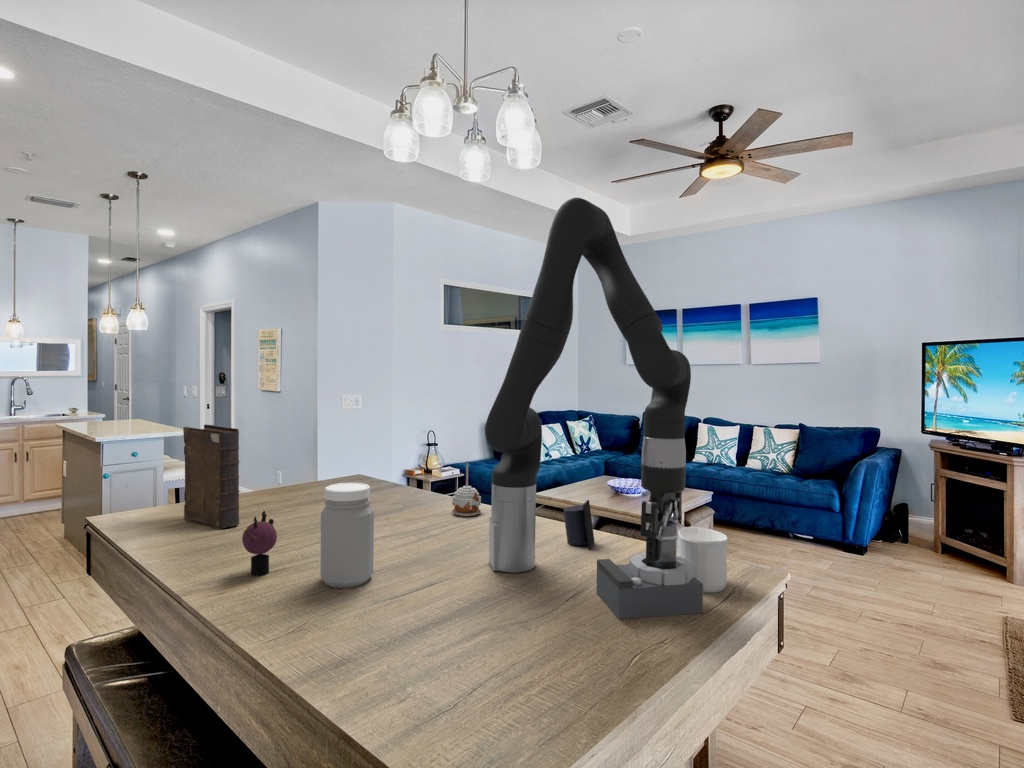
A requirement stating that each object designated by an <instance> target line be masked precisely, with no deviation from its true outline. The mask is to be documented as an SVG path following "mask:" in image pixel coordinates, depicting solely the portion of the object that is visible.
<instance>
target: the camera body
mask: <svg viewBox="0 0 1024 768" xmlns="http://www.w3.org/2000/svg"><path fill="white" fill-rule="evenodd" d="M628 560H629V561H628V563H629V564H628V563H627V564H616V563H614V561H613V560H611V559H610V558H599V559H598V558H597V560H596V592H595V593H596V594H597V595H598V597H599V598H600V599H601V600H602V602H603V603H604V604H605V605H606V606H607V607H608V609H609V610H610V611H611V612H612V613H613V614H614V616H616V618H617V619H618V620H622V619H637V618H639V619H640V618H653V617H665V616H668V617H669V616H679V615H693V614H703V601H704V600H703V599H704V597H703V596H704V595H703V594H704V592H703V583H701V582H700V581H698V580H697V579H696V578H694V564H692V563H691V562H689V561H688V560H686V559H685V558H681V557H680V556H677V555H676V569H658V568H654V567H649V566H647V558H646V552H645V553H644V552H642V553H637V554H635V555H634V556H632V557H631V558H629V559H628Z"/></svg>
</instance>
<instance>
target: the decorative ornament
mask: <svg viewBox="0 0 1024 768" xmlns="http://www.w3.org/2000/svg"><path fill="white" fill-rule="evenodd" d="M481 502H482V496H481V495H480V493H479V492H478V490H477V489H476V488H475V487H472V485H469V460H466V463H465V485H463V486H462V487H459V488H458V489H457V490H456V491H454V495H453V496H452V506H453V507H454V508H452V514H454V515H457V516H461V517H473V516H476V515H479V514H481V512H482V509H480V506H481V504H482V503H481Z"/></svg>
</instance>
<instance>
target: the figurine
mask: <svg viewBox="0 0 1024 768" xmlns="http://www.w3.org/2000/svg"><path fill="white" fill-rule="evenodd" d="M267 516H268V514H267V513H266V510H263V511H262V512H261V520H260V521H258V519H257V516H254V518H253V523H251V524H250V525H248V526H247V527H244V528H243V529H242V530H243V534H242V539H241V540H242V545H243V547H244V549H245V550H246V552H248V553H249V554H253V555H252V556H251V558H250V575H251V576H253V577H262V576H266V575H268V574H269V573H270V556H269V554H266V553H268V552H270V550H272V549H273V548H274V547H275V545H276V543H277V539H278V534H277V530H276V529H275V527H274V523H275V522H274V521H275V520H274V519H272V518H269V520H268V522H267V521H266V520H267Z"/></svg>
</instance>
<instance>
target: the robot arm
mask: <svg viewBox="0 0 1024 768" xmlns="http://www.w3.org/2000/svg"><path fill="white" fill-rule="evenodd" d="M582 256H583V257H584V259H585V260H586V262H587V263H589V265H590V266H591V267H592V269H593V270H594V272H595V273H596V275H597V278H598V279H599V282H600V284H601V286H602V287H601V288H602V290H603V291H602V292H603V294H604V298H605V301H606V305H607V307H608V310H609V313H610V315H611V317H612V318H613V321H614V322H615V324H616V325H617V328H618V329H619V331H620V333H621V335H622V337H623V338H624V340H625V341H626V343H627V346H628V350H629V353H630V356H631V359H632V362H633V364H634V367H635V369H636V372H637V373H638V375H639V377H640V379H641V380H642V381H643V382H644V383H645V384H646V385H647V386H648V387H650V388H652V390H651V398H650V402H649V404H648V405H646V407H645V409H644V412H643V413H644V414H643V437H642V439H643V440H642V446H641V467H640V468H641V471H640V473H641V475H640V477H641V478H640V480H641V481H640V485H641V488H642V489H644V490H647V491H648V492H649V493H650V494H649V499H648V500H642V502H641V513H640V533H639V534H640V536H641V537H643V538H645V540H646V541H645V542H646V543H645V546H646V547H645V548H646V549H645V553H646V558H647V559H648V560H652V561H658V560H659V559H660V537H661V533H662V529H663V528H665V527H666V524H667V521H672V522H675V523H676V524H677V528H678V527H679V522H680V523H681V522H682V518H683V517H682V513H683V512H682V509H683V508H682V502H683V501H682V500H683V499H682V497H683V496H682V493H683V491H685V489H686V469H687V468H686V464H687V463H686V461H687V460H686V459H687V449H686V447H687V446H686V440H685V439H686V438H685V436H686V433H685V432H686V416H685V413H686V407H687V403H688V400H689V393H690V387H691V379H692V377H691V376H692V373H691V371H692V370H691V369H692V368H691V365H690V362H689V359H688V357H686V355H685V354H683V352H680V351H678V350H675V349H672V348H671V347H670V346H669V344H668V342H667V341H666V338H665V336H664V334H663V327H664V326H663V323H662V321H661V319H660V317H659V316H658V314H657V312H656V310H655V308H654V307H653V305H652V304H651V302H650V300H649V299H648V297H647V295H646V294H645V292H644V290H643V289H642V288H641V286H640V283H639V282H638V280H637V278H636V277H635V275H634V273H633V271H632V270H631V268H630V265H629V264H628V261H627V259H626V257H625V255H624V253H623V250H622V248H621V245H620V243H619V239H618V237H617V234H616V232H615V229H614V226H613V224H612V221H611V218H610V217H609V215H608V213H607V212H606V211H605V210H603V209H602V208H601V207H599V206H598V205H596V204H594V203H592V202H590V201H588V200H587V199H584V198H582V197H572V198H569V199H567V200H565V201H564V202H563V203H561V205H560V206H559V207H558V209H556V211H555V214H554V216H553V218H552V221H551V225H550V229H549V233H548V238H547V242H546V247H545V252H544V256H543V259H542V264H541V268H540V270H539V274H538V277H537V281H536V283H535V286H534V289H533V293H532V296H531V300H530V302H529V305H528V308H527V311H526V314H525V316H524V320H523V323H522V325H521V328H520V332H519V335H518V338H517V341H516V345H515V348H514V351H513V354H512V356H511V359H510V362H509V364H508V368H507V371H506V373H505V376H504V380H503V382H502V384H501V386H500V389H499V391H498V394H497V395H496V397H495V400H494V402H493V404H492V406H491V409H490V410H489V414H488V415H487V419H486V422H485V427H484V428H485V429H484V432H485V433H484V434H485V438H486V442H487V444H488V445H489V446H490V448H491V449H492V450H494V451H496V452H499V453H502V455H501V459H500V461H499V462H498V463H497V465H496V466H495V467H494V468H493V469H492V471H491V513H490V514H491V515H490V517H489V526H488V530H489V531H488V535H489V537H488V538H489V539H488V562H489V565H490V566H491V569H492V571H493V572H503V573H523V572H528V571H531V570H533V569H534V568H535V566H536V521H537V520H536V517H537V515H536V513H537V511H536V507H537V503H536V501H537V477H538V473H539V471H540V466H541V460H542V459H541V457H542V443H543V442H542V441H543V440H542V439H543V428H542V421H541V419H540V416H539V414H538V413H537V411H536V410H534V409H533V408H532V407H531V403H532V402H533V398H534V396H535V394H536V392H537V390H538V389H539V387H540V385H541V384H542V382H543V381H544V380H545V379H546V377H547V376H548V375H549V374H550V372H551V370H553V368H554V366H556V364H557V362H559V361H558V360H559V359H560V357H561V355H562V353H563V351H564V349H565V347H566V346H565V345H566V343H567V341H568V337H569V335H570V331H571V327H572V326H573V325H572V324H573V317H574V281H575V277H576V273H577V270H578V267H579V264H580V262H581V259H582ZM651 527H652V531H651Z"/></svg>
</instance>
